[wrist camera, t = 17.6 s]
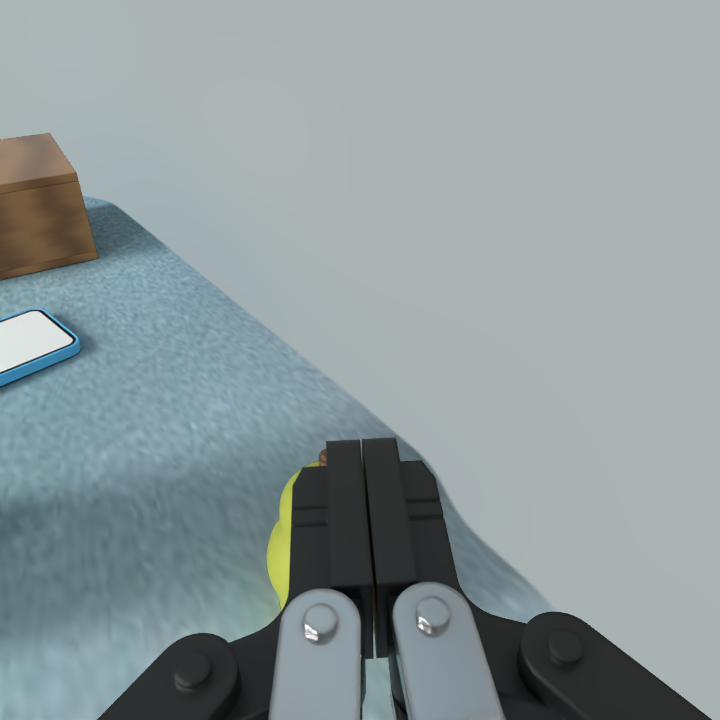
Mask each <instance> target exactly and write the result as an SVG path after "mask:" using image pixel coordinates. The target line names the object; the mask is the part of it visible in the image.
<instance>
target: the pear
mask: <svg viewBox="0 0 720 720" xmlns="http://www.w3.org/2000/svg"><path fill="white" fill-rule="evenodd" d="M313 466H327V449H325V450H323V451H321V453H320V454H319V461H317V462H313V463H311V464H308V465H306V466H304V467H313ZM301 469H302V468H301ZM301 469H300V470H299V471H297V472H296V473H295V474H294V475H293V476H292V477H291V479H290V480H289V481H288V483H287V484H286V486H285V488H284V490H283V493H282V496H281V500H280V510H279V515H280V519H279V520H278V521H277V523H276V525H275V527H274V529H273V531H272V533H271V536H270V539H269V543H268V548H267V568H268V573H269V577H270V580H271V583H272V585H273V587H274V589H275V591H276V593H277V594H278V596H279V602H280V607H281V611H282V609H283V608H284V605H285V603H286V601H287V597H288V591H289V568H290V539H291V511H292V486H293V484H294V482H295V480H296V478H297V477H298V475H299V473H300V471H301Z"/></svg>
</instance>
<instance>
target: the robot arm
mask: <svg viewBox="0 0 720 720" xmlns="http://www.w3.org/2000/svg"><path fill="white" fill-rule="evenodd" d="M326 446H327V466H313V467H303V468H302V469H301V471H300V473H299V475H298V477H297V478H296V480H295V482H294V484H293V486H292V511H291V539H290V568H289V591H288V597H287V601H286V603H285V605H284V608H283V609H282V611H281V612H280V614H279V615H278V616H277V617H276V618H275V620H274V621H272V622H271V623H270V624H269V625H268V626H266V627H265V628H263V629H262V630H260V631H258V632H255V633H253V634H251V635H248V636H246V637H243V638H240V639H238V640H235V641H233V642H230V643H228V642H227V641H226V640H225V639H223V638H221V637H219V636H217V635H214V634H209V633H198V634H192V635H189V636H186V637H183V638H181V639H179V640H177V641H176V642H174V643H173V644H172V645H170V646H169V647H168V648H167V649H166V650H165V651H164V652H163V653H162V654H161V655H160V656H159V657H158V658H157V659H156V660H155V661H154V662H153V663H152V664H151V665H150V666H149V667H148V668H147V669H146V670H145V671H144V672H143V673H142V674H141V675H140V676H139V677H138V678H137V679H136V680H135V681H134V682H133V683H132V685H131V686H130V687H129V688H128V689H127V690H126V691H125V692H124V693H123V694H122V695H121V696H120V697H119V698H118V699H117V700H116V701H115V702H114V703H113V704H112V705H111V706H110V707H109V708H108V709H107V710H106V711H105V712H104V713H103V714H102V715H101V716H100V717H99V718H98V719H97V720H362V712H363V702H364V699H365V694H366V672H365V659H373V621H374V633H375V644H376V656H377V658H385V657H388V661H389V670H390V680H391V692H390V698H391V706H392V711H393V717H394V720H712V719H710V718H709V717H708V716H707V715H705V714H704V713H703V712H701V711H700V710H698V709H697V708H696V707H695V706H693V705H692V704H691V703H690V702H688V701H687V700H686V699H684V698H683V697H682V696H681V695H679V694H678V693H677V692H675V691H674V690H672V689H671V688H670V687H669V686H667V685H666V684H665V683H664V682H662V681H661V680H660V679H658V678H657V677H656V676H655V675H653V674H652V673H651V672H649V671H648V670H647V669H645V668H644V667H643V666H642V665H640V664H639V663H637V662H636V661H635V660H634V659H632V658H631V657H630V656H628V655H627V654H626V653H625V652H623V651H622V650H621V649H619V648H618V647H617V646H616V645H614V644H613V643H612V642H610V641H609V640H608V639H606V638H605V637H604V636H603V635H601V634H600V633H599V632H597V631H596V630H595V629H593V628H592V627H591V626H590V625H588V624H587V623H585V622H584V621H582V620H581V619H579V618H577V617H575V616H573V615H570V614H567V613H562V612H546V613H542V614H539V615H537V616H535V617H534V618H532V619H531V620H530V621H529V622H528V623H527V624H526V623H522V622H518V621H513V620H509V619H505V618H501V617H498V616H495V615H491V614H489V613H487V612H485V611H483V610H482V609H480V608H478V607H477V606H476V605H475V604H473V603H472V602H471V601H470V600H469V599H468V598H467V597H466V595H465V594H464V592H463V591H462V589H461V587H460V585H459V582H458V579H457V574H456V570H455V565H454V561H453V556H452V552H451V547H450V543H449V538H448V533H447V529H446V524H445V520H444V518H443V511H442V506H441V502H440V497H439V493H438V488H437V483H436V479H435V477H434V475H433V474H432V473H431V472H430V470H429V469H428V468H427V467H426V465H425V464H424V463H423V462H422V460H420V461H402V462H400V459H399V452H398V446H397V441H396V438H395V437H394V438H375V439H362V458H361V447H360V440H341V441H326ZM362 468H363V469H362Z"/></svg>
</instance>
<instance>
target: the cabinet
mask: <svg viewBox="0 0 720 720" xmlns="http://www.w3.org/2000/svg"><path fill="white" fill-rule="evenodd" d="M97 258H98V255H97V251H96V247H95V243H94V239H93V235H92V231H91V227H90V223H89V220H88V216H87V212H86V208H85V204H84V200H83V196H82V192H81V189H80V184H79V181H78V177H77V173H76V171H75V170H74V168H73V167H72V165H71V164H70V162H69V161H68V159H67V158H66V157H65V155H64V154H63V152H62V151H61V149H60V148H59V146H58V145H57V143H56V142H55V140H54V139H53V137H52V136H51V134H50V133H45V134H38V135H31V136H23V137H16V138H8V139H0V280H2V279H7V278H11V277H16V276H20V275H25V274H29V273H34V272H38V271H43V270H47V269H52V268H57V267H61V266H66V265H70V264H75V263H79V262H84V261H88V260H93V259H97Z"/></svg>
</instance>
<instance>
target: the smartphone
mask: <svg viewBox="0 0 720 720" xmlns="http://www.w3.org/2000/svg"><path fill="white" fill-rule="evenodd" d="M80 349H81V346H80V343H79V339H78V337H77V336H76V335H75V334H74V333H72V332H71V331H70V330H69V329H67V328H66V327H65V326H64V325H63V324H61V323H60V322H59V321H58V320H56V319H55V318H54V317H53V316H51V315H50V314H49V313H48V312H46V311H45V310H43V309H29V310H26V311H23V312H20V313H18V314H15V315H12V316H9V317H6V318H4V319H1V320H0V386H2V385H5V384H7V383H9V382H12V381H14V380H16V379H19V378H21V377H24V376H26V375H28V374H31V373H33V372H35V371H38V370H40V369H43V368H45V367H47V366H50V365H52V364H54V363H57V362H59V361H62V360H64V359H66V358H69V357H71V356H73V355H75V354H77V353H78V352H79V351H80Z"/></svg>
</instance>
